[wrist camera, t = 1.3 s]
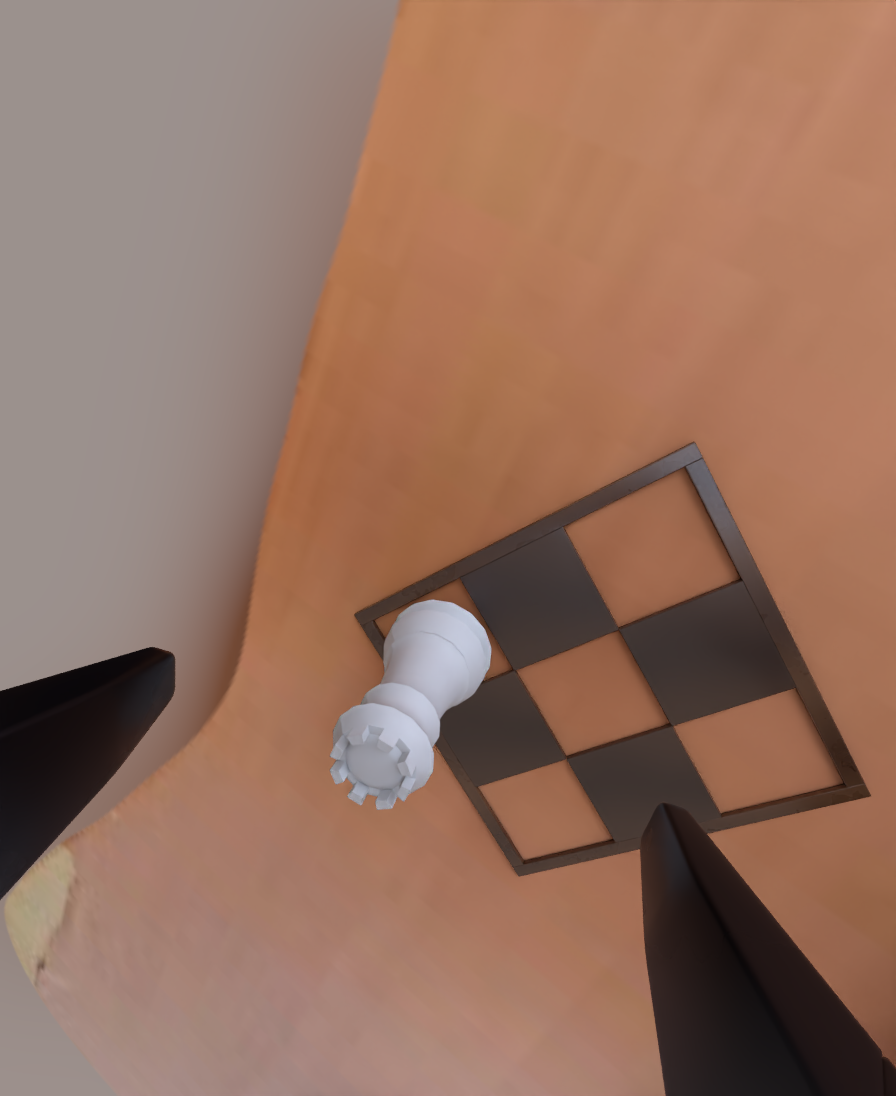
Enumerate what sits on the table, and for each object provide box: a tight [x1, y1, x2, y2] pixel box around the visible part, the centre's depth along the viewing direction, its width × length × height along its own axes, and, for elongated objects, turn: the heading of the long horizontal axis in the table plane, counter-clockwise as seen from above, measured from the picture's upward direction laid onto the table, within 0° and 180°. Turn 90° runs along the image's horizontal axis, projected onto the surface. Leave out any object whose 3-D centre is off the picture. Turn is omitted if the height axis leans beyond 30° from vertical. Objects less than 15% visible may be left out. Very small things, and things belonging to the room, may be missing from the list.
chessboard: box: [355, 442, 871, 876], centre depth 21 cm, size 15×15×1 cm
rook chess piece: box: [330, 600, 491, 810], centre depth 18 cm, size 4×4×8 cm
